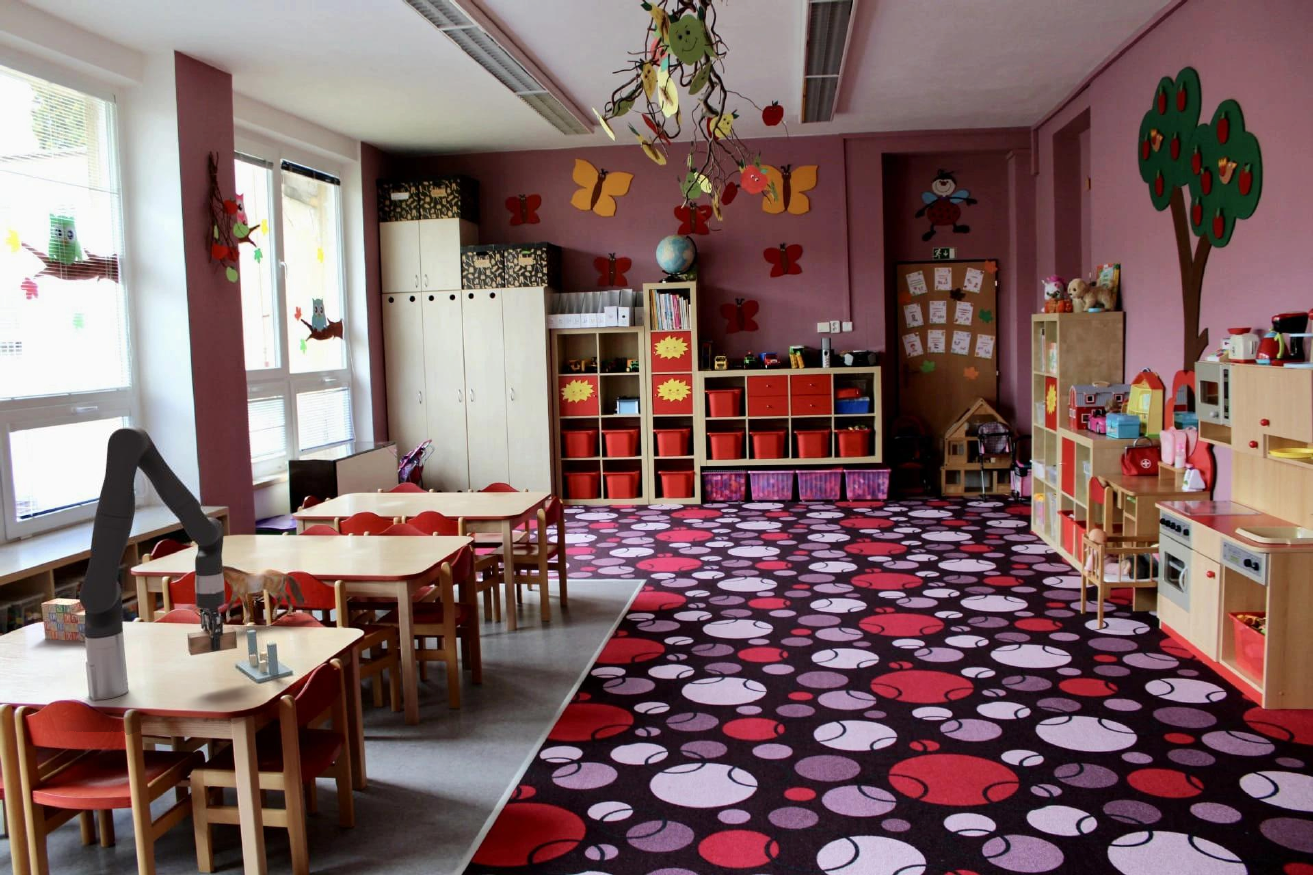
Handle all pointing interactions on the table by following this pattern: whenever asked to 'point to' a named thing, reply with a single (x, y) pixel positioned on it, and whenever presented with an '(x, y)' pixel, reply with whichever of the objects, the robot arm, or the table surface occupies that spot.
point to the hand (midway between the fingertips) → (212, 647)
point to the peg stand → (262, 662)
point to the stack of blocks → (64, 619)
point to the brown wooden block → (202, 641)
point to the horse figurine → (261, 587)
